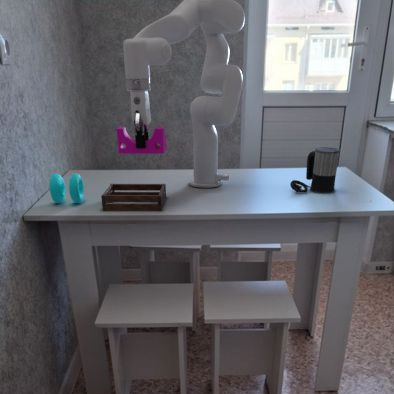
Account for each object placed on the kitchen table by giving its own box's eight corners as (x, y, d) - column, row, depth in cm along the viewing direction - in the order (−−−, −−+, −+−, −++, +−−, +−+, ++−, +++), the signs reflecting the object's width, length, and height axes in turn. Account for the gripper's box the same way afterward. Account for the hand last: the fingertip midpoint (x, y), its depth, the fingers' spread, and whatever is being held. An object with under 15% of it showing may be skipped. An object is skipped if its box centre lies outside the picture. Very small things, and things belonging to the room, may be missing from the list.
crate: (166, 197, 179) (165, 183, 176) (161, 210, 165) (160, 195, 162) (112, 197, 180) (110, 183, 177) (102, 210, 165) (101, 195, 163)
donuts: (59, 199, 178) (54, 170, 173) (86, 199, 178) (82, 170, 173) (51, 206, 170) (46, 177, 165) (79, 206, 170) (75, 177, 164)
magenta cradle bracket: (166, 150, 165) (165, 125, 161) (163, 153, 160) (162, 128, 156) (123, 149, 167) (120, 126, 163) (118, 153, 161) (116, 128, 157)
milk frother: (339, 190, 187) (345, 149, 179) (317, 198, 177) (322, 155, 169) (307, 184, 195) (311, 144, 187) (284, 191, 185) (288, 150, 178)
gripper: (146, 87, 145) (150, 151, 155) (153, 83, 160) (156, 141, 169) (121, 87, 146) (127, 151, 155) (131, 83, 160) (135, 141, 170)
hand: (142, 145), depth 162 cm, fingers closed on magenta cradle bracket, 6 cm apart
